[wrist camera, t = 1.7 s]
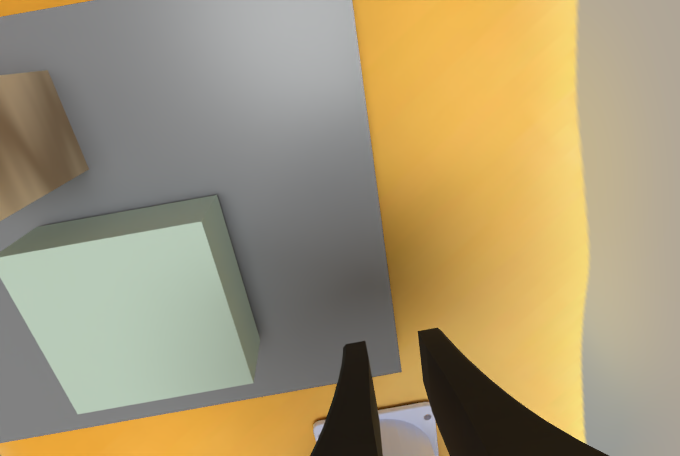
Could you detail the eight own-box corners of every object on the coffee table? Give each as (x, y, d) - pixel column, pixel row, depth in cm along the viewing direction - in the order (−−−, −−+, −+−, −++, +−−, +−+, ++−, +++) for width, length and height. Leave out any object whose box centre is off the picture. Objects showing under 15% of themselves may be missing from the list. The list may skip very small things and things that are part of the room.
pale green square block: (260, 340, 22) (253, 383, 19) (106, 367, 22) (77, 414, 19) (216, 194, 19) (201, 221, 16) (36, 226, 19) (-11, 258, 16)
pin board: (393, 342, 26) (401, 371, 24) (6, 411, 26) (-23, 447, 24) (341, -34, 18) (346, -45, 16) (-221, 66, 18) (-299, 70, 16)
